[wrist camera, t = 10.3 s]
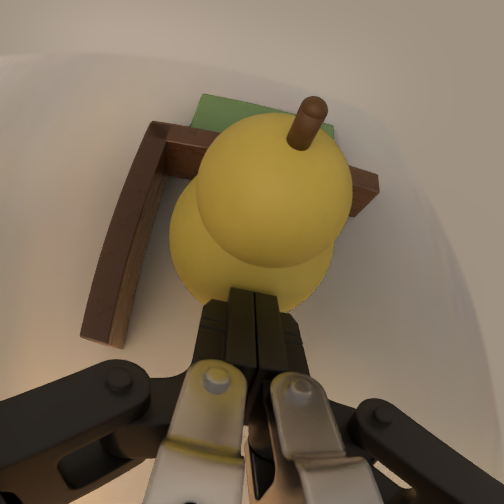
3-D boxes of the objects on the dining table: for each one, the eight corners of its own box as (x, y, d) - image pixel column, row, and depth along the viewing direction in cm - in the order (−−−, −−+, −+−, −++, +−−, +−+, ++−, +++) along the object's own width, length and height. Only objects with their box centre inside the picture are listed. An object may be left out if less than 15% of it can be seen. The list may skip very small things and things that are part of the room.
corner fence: (99, 343, 13) (79, 337, 10) (154, 155, 17) (150, 120, 14) (347, 382, 15) (379, 383, 12) (354, 200, 19) (378, 174, 16)
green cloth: (182, 155, 17) (182, 148, 17) (202, 99, 19) (202, 93, 19) (331, 189, 19) (335, 183, 18) (330, 131, 20) (333, 125, 20)
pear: (161, 318, 14) (110, 203, 4) (185, 198, 16) (199, 10, 7) (295, 337, 15) (465, 268, 5) (302, 219, 17) (409, 69, 8)
